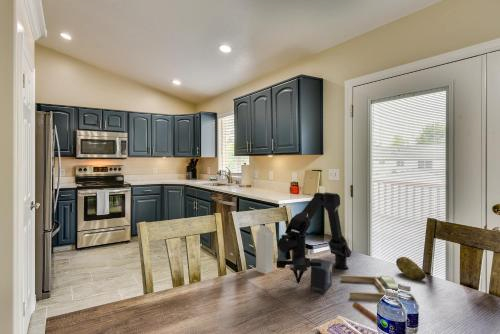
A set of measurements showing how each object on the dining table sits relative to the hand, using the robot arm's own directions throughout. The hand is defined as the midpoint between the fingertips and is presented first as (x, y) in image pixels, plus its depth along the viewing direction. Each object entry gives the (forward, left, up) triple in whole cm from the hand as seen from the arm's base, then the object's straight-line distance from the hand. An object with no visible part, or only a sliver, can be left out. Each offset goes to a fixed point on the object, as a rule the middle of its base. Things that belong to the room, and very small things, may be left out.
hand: (298, 282), depth 125 cm
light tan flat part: (0, +31, -1) cm, 31 cm away
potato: (-17, +53, -2) cm, 56 cm away
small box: (0, +10, -2) cm, 10 cm away
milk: (-15, -15, -2) cm, 21 cm away
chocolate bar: (+19, +23, -2) cm, 30 cm away
